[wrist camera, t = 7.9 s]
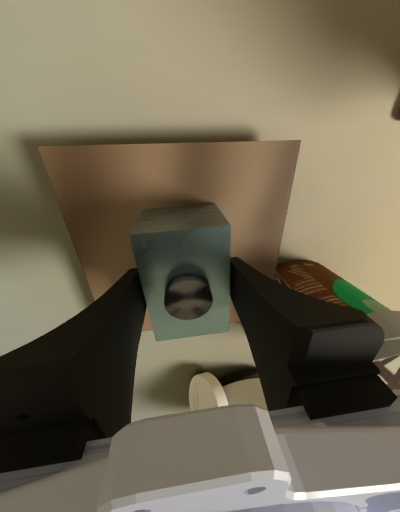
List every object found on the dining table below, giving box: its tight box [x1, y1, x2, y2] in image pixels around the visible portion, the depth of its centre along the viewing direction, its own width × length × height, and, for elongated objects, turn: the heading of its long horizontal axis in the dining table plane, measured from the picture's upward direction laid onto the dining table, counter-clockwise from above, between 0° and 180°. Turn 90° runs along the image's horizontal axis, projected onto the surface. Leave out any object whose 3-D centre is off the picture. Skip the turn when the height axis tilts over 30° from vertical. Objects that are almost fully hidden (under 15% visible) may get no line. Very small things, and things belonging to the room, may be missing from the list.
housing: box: [129, 203, 231, 341], centre depth 12 cm, size 7×4×5 cm, turn 4°
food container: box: [275, 260, 400, 391], centre depth 16 cm, size 12×6×10 cm, turn 29°
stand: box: [37, 140, 301, 331], centre depth 15 cm, size 14×14×2 cm
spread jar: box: [189, 371, 268, 411], centre depth 22 cm, size 12×11×12 cm
